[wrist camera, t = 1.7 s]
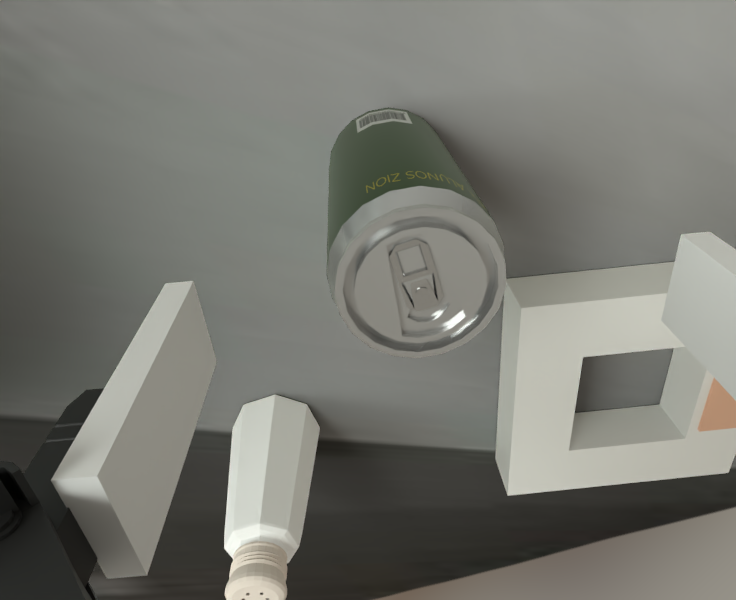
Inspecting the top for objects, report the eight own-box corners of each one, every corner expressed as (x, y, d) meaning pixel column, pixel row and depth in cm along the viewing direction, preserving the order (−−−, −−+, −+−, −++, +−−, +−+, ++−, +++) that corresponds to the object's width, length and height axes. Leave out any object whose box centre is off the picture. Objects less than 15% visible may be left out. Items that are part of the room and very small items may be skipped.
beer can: (312, 127, 25) (296, 236, 14) (425, 87, 24) (494, 170, 14) (351, 230, 27) (362, 383, 17) (453, 196, 27) (529, 334, 16)
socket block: (495, 459, 36) (508, 498, 34) (504, 278, 29) (522, 310, 26) (700, 437, 36) (730, 475, 34) (761, 252, 29) (805, 281, 26)
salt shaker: (320, 392, 33) (315, 561, 23) (320, 456, 35) (315, 630, 26) (229, 392, 32) (186, 565, 23) (236, 457, 35) (200, 633, 26)
